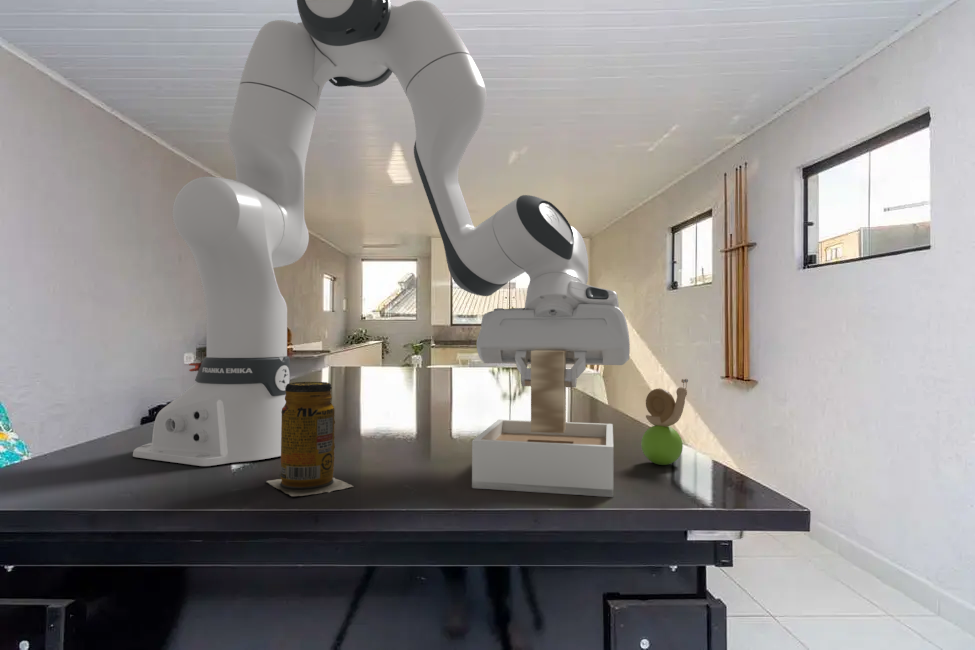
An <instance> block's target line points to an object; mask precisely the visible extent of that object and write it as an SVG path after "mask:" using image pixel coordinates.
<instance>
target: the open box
mask: <svg viewBox="0 0 975 650" xmlns="http://www.w3.org/2000/svg"><path fill="white" fill-rule="evenodd" d="M613 426H614V424H613V423H602V422H599V423H597V422H576V421H575V422H572V421H571V422H570V421H566V429H565V431H564V433H547V432H531V420H521V419H519V420H517V419H516V420H515V419H497V420H495V422H493V423H492V424H491V425H490V426H489V427H488V428H486V429H485V430H483V431H482V432H481V433H480V434H478V435H477V436H475V438H473V439H472V441H471V442H472V443H471V445H472V446H471V450H472V451H471V488H472V489H481V490H482V489H483V490H498V491H513V492H515V491H516V492H528V493H530V492H531V493H542V494H543V493H544V494H559V495H575V496H577V495H578V496H591V497H593V496H594V497H606V498H608V497H609V498H614V427H613Z"/></svg>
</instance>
